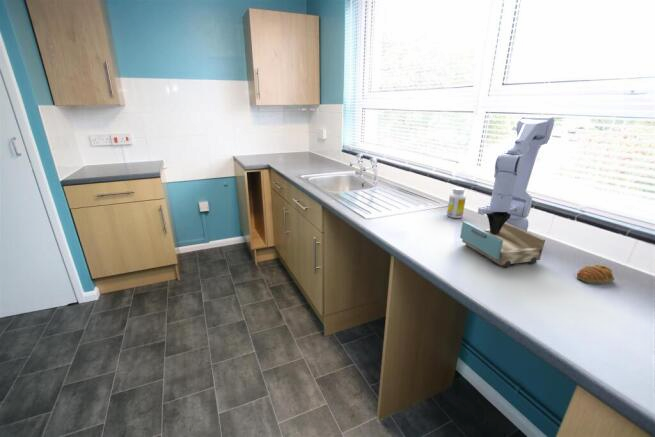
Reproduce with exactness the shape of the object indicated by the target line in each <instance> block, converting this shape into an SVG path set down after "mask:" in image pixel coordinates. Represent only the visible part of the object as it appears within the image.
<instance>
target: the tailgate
mask: <svg viewBox="0 0 655 437" xmlns="http://www.w3.org/2000/svg"><path fill="white" fill-rule="evenodd" d="M459 238H460V239H462V240H465V241H467V242H468V243H470V244H472V245H473V246H475V247H477V248H478V249H480V250H482V251H483V252H485V253H487V254H488V255H490V256H492V257H493V258H495V259H499V257H500V253H501V248H502V244H503V240H501V239H499V238H497V237H495V236H494V235H492V234H490V233H488V232H486V231H484V230H483V229H481V228H480V227H478V226H476V225H474V224H472V223H470V222H468V221H462V224H461V230H460V235H459Z"/></svg>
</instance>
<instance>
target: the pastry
mask: <svg viewBox="0 0 655 437" xmlns="http://www.w3.org/2000/svg"><path fill="white" fill-rule="evenodd" d="M576 279H578V280H581V281H582V282H585V283H587V284H594V285H595V284H596V285H602V284H610V283H613V281H614V280H615V277H614V274H613V272H612V270H611V269H610V268H609V267H607V266H606V265H599V264H595V265H588V266H585V267H582V268H581V269H579V271H578V272H577V273H576Z"/></svg>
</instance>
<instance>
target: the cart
mask: <svg viewBox="0 0 655 437" xmlns="http://www.w3.org/2000/svg"><path fill="white" fill-rule="evenodd" d="M482 230H484V231H486V232H488V233H490V228H486V229H485V228H484V229H482ZM490 234H492V233H490ZM492 235H494V234H492ZM494 236H495V237H497V238H499V239H501V240H503V244H502V248H501V253H500V257H499V259H495V258H493V257H492V256H490V255H488V254H487V253H485V252H483V251H482V250H480V249H478V248H477V247H475V246H473V245H472V244H470V243H468V242H467V241H465V240H463V239H462V240H461V242H462V243H464V244H465V245H467V246H469V247H470V248H471V249H473V250H475V251H477V252H478V253H480V254H481V255H484V257H487V258H488V259H490V260H491V261H493V262H495V263H496V264H498V265H500V266H501V267H503V268H505V269H507V268H510V266H511V265H512V264H513V265H514V264H519V263H528V264H530V265H534V264H536V263H537V261H540V260H541V257H542V254H543V250H544V246H545V241H546V239H545V238H542V237H540V236H537V235H535V234H533V233H531V232H528V230H527V231H524V230H522V229H520V228H517V227H515V226H513V225H511V224H508V223H506V222H505V223H504V225H503V226H502V228H501V230H500V232H499V233H498V235H494Z"/></svg>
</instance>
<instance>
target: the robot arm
mask: <svg viewBox="0 0 655 437" xmlns="http://www.w3.org/2000/svg"><path fill="white" fill-rule="evenodd" d="M554 125H555V118H554V117H553V116H530V115H529V116H528V115H527V116H525V115H522V116H521V117H519V118H518V120H517V125H516V134H517V135H516V137H517V138H516V139H513V140H512V141H511V142H510V143H509V144H508V147H507V148H506V149H505V151H504V152H503V153H501V154H499V155H497V157H496V159H495V164H494V175H493V176H494V183H493V189H492V192H491V193H492V194H491V198H490V201H489V203H487V204H486V205H484V206H480V207H478V209H477V214H479V215H481V216H485V215H486V216H487V219H488V224H489V229H490V233H492V234H494V235H498V233H499V232H500V230H501V228H502V226H503V225H504V223H505V222H506V223H508V224H511V225H513V226H515V227H517V228H520V229H522V230H524V231H527V232H528V230H529V229H528V228H529V219H528V218H527V217H528V216H529V214H530V212H531V209H532V203H533V197H532V196H531V194H529V193H528V192H527V188H528V185H529V182H530V178H531V176H532V172H533V169H534V165H535V162H536V160H537V156H538V153H539V150H540V149H541V147H542V146H543V145H546V144H548V142H549V140H550V139H551V135H552V132H553V129H554Z"/></svg>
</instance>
